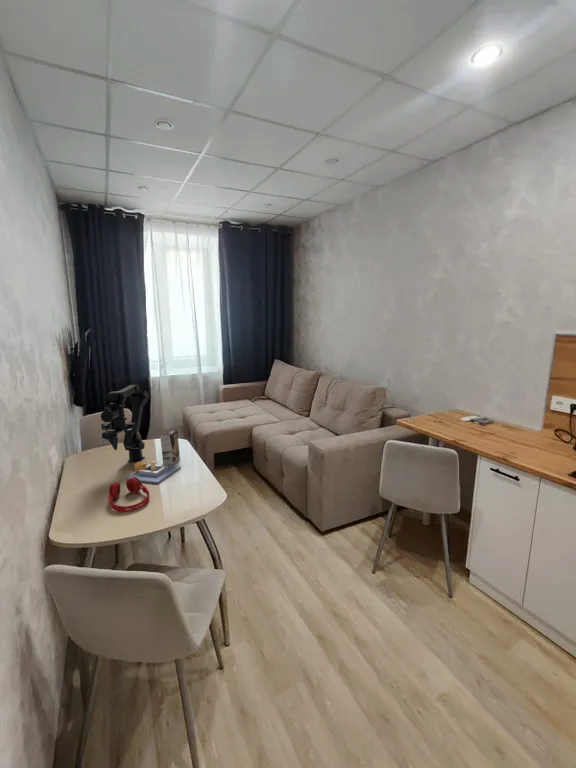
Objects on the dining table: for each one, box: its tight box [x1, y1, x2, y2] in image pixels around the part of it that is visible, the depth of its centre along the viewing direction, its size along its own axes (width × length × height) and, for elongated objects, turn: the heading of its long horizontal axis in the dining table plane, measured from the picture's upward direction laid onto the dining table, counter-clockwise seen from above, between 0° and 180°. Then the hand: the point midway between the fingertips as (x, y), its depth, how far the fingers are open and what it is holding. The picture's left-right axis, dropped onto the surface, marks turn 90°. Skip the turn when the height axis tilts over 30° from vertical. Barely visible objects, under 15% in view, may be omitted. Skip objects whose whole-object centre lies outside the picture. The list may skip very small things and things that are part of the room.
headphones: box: [107, 477, 150, 513], centre depth 152 cm, size 15×7×20 cm
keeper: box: [125, 460, 181, 485], centre depth 177 cm, size 18×18×7 cm
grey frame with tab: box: [134, 461, 168, 477], centre depth 178 cm, size 15×8×4 cm, turn 73°
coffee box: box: [159, 429, 181, 466], centre depth 192 cm, size 9×6×16 cm
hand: (122, 446), depth 183 cm, fingers open, 9 cm apart
